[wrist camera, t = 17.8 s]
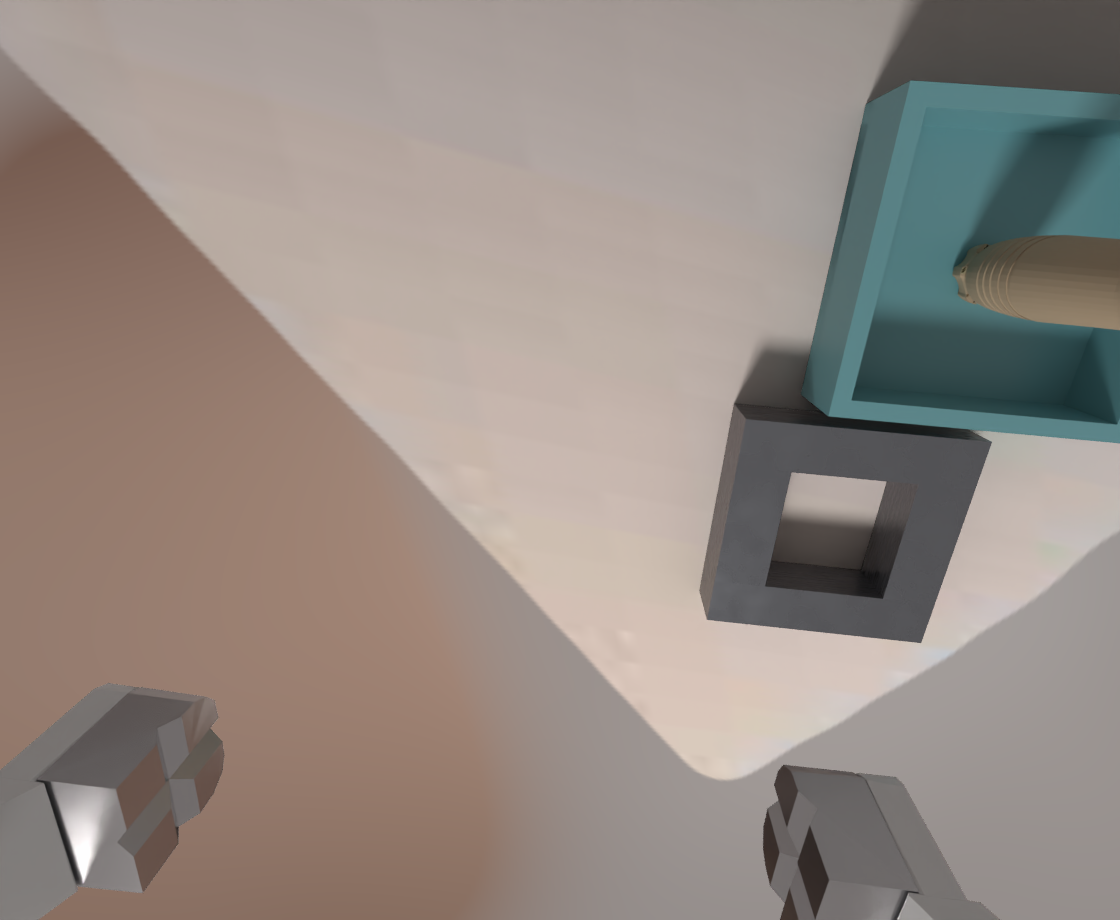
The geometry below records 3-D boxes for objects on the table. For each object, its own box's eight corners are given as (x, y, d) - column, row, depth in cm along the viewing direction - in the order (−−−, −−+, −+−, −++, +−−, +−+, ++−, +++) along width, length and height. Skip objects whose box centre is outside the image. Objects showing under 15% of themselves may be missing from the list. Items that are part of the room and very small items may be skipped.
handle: (967, 200, 32) (1248, 169, 18) (1056, 266, 33) (1392, 284, 19) (904, 280, 34) (1116, 308, 20) (990, 340, 34) (1254, 409, 20)
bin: (866, 104, 32) (910, 80, 27) (1176, 125, 31) (1277, 104, 26) (800, 394, 37) (828, 416, 33) (1062, 418, 37) (1129, 444, 32)
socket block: (734, 403, 38) (745, 419, 35) (958, 424, 37) (991, 442, 34) (699, 590, 43) (707, 619, 40) (896, 611, 42) (920, 642, 39)
